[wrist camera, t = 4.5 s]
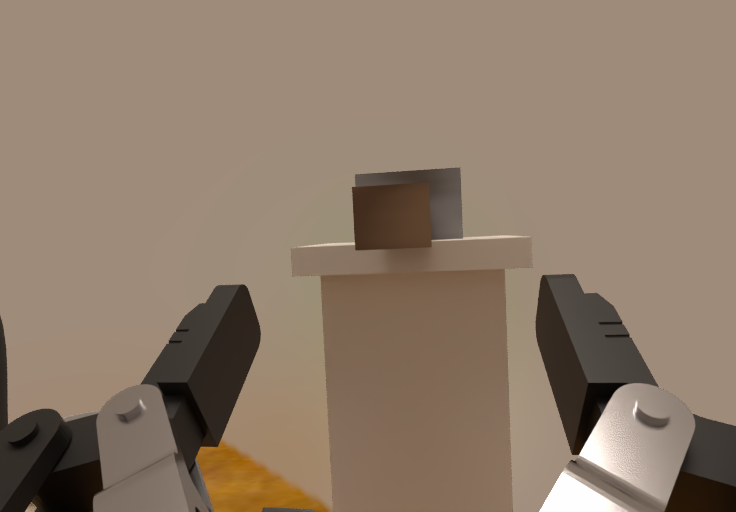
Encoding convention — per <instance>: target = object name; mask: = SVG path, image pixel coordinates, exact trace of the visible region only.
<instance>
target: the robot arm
mask: <svg viewBox="0 0 736 512" xmlns="http://www.w3.org/2000/svg"><path fill="white" fill-rule="evenodd" d="M260 335H261V333H260V325H259V322H258V319H257V316H256V312H255V309H254V306H253V303H252V300H251V297H250V294H249V291H248V288H247V287H246V286H245V285H218V286H216V287H215V289H214V290H213V292H212V293H211V295H210V297H209V299H208V300H207V302H206V303H205V304H204V303H202V304H199V305H198V306H196V307H195V308H194V309H193V310H191V311H190V312H189V313H188V314H187V315H185V317H184V318H183V320H182V321H181V323H180V324H179V326H178V328H177V329H176V332H174V334H173V335H172V337H171V338H170V340H169V344H166V346H165V347H164V349H163V351H162V352H161V354H160V355H159V357H158V358H157V360H156V361H155V363H154V364H153V366H152V367H151V369H150V371H149V372H148V373H147V375H146V377H145V378H144V380H143V381H142V383H141V384H140V385H136V386H133V387H129V388H127V389H125V390H123V391H121V392H119V393H118V394H116V395H115V396H113V397H112V398H111V399H110V400H109V401H107V403H106V404H105V405H104V406H103V407H102V409H101V410H100V412H99V413H98V414H94V415H90V416H86V417H82V418H79V419H75V420H71V421H67V422H65V421H64V420H63V418H62V417H61V416H60V414H59V413H58V412H57V411H55V410H52V409H40V410H36V411H32V412H29V413H27V414H25V415H23V416H21V417H19V418H17V419H16V420H14V421H13V422H11V423H10V424H9V425H8V411H7V406H8V405H7V357H6V344H5V337H4V329H3V324H2V321H1V317H0V512H25V510H26V509H27V507H28V506H29V504H30V503H31V501H32V503H33V504H34V505H35V506H36V507H37V509H36V510H35V512H214V510H213V507H212V504H211V501H210V497H209V494H208V491H207V488H206V485H205V482H204V479H203V476H202V473H201V470H200V467H199V464H198V462H197V460H196V456H197V454H198V451H199V449H200V447H201V446H202V447H218V445H219V443H220V440H221V438H222V435H223V433H224V430H225V428H226V425H227V423H228V421H229V418H230V416H231V413H232V411H233V408H234V406H235V404H236V401H237V399H238V396H239V394H240V391H241V389H242V387H243V384H244V381H245V379H246V377H247V374H248V372H249V369H250V367H251V364H252V362H253V360H254V357H255V355H256V352H257V350H258V347H259V344H260ZM536 337H537V342H538V346H539V349H540V352H541V355H542V359H543V362H544V365H545V369H546V371H547V375H548V378H549V382H550V385H551V388H552V391H553V395H554V398H555V401H556V404H557V408H558V411H559V414H560V417H561V420H562V424H563V427H564V430H565V433H566V437H567V440H568V443H569V446H570V450H571V453H572V455H579V456H578V458H577V459H576V460H575V461H573V460H571V461H570V462H569V463H568V464H567V466H566V467H565V469H564V470H563V472H562V474H561V476H560V477H559V479H558V481H557V482H556V484H555V486H554V488H553V490H552V491H551V493H550V495H549V496H548V498H547V500H546V502H545V503H544V505H543V507H542V509H541V510H540V512H736V426H733V425H729V424H725V423H721V422H717V421H713V420H709V419H706V418H702V417H700V416H697V415H695V414H692V412H691V411H690V409H689V408H688V407H687V406H686V404H685V403H684V402H683V401H682V400H680V399H679V398H678V397H677V396H675V395H673V394H672V393H670V392H668V391H666V390H664V389H661V388H659V386H658V385H657V383H656V382H655V380H654V378H653V376H652V374H651V373H650V371H649V369H648V367H647V365H646V363H645V362H644V360H643V358H642V356H641V354H640V353H639V351H638V349H637V347H636V346H635V344H634V342H633V340H632V338H630V337H629V333H628V331H627V329H626V328H625V326H624V325H622V320H621V319H620V317H619V315H618V313H617V311H616V310H615V308H614V306H613V305H611V304H610V303H609V302H608V301H606V300H605V299H604V298H603V297H601V296H600V295H599V294H597V293H587V294H584V292H583V290H582V288H581V286H580V284H579V282H578V280H577V278H576V276H575V275H574V274H562V275H543V276H542V278H541V282H540V290H539V298H538V307H537V315H536ZM262 512H317V511H314V510H311V509H289V508H263V511H262Z"/></svg>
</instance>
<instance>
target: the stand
mask: <svg viewBox="0 0 736 512" xmlns="http://www.w3.org/2000/svg"><path fill="white" fill-rule="evenodd" d="M431 241H432V247H425V248H402V249H379V250H356V251H355V242H351V243H330V244H319V245H310V246H302V247H293V248H291V262H292V276H293V277H295V276H321V294H322V313H323V332H324V351H325V369H326V388H327V407H328V425H329V443H330V462H331V482H332V499H333V500H332V501H333V512H513V502H512V473H511V443H510V416H509V415H510V414H509V385H508V356H507V355H508V354H507V325H506V297H505V296H506V295H505V269H515V268H532V267H533V264H532V237H526V236H481V237H463V239H443V240H431Z"/></svg>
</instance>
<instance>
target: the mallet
mask: <svg viewBox="0 0 736 512" xmlns="http://www.w3.org/2000/svg"><path fill="white" fill-rule="evenodd" d="M355 184H356V187H352V193H353V213H354V233H355V251H356V250H379V249H402V248H425V247H432V241H431V240H443V239H463V231H462V230H463V229H462V203H461V177H460V168H446V169H431V170H416V171H402V172H387V173H373V174H356V175H355Z"/></svg>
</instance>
